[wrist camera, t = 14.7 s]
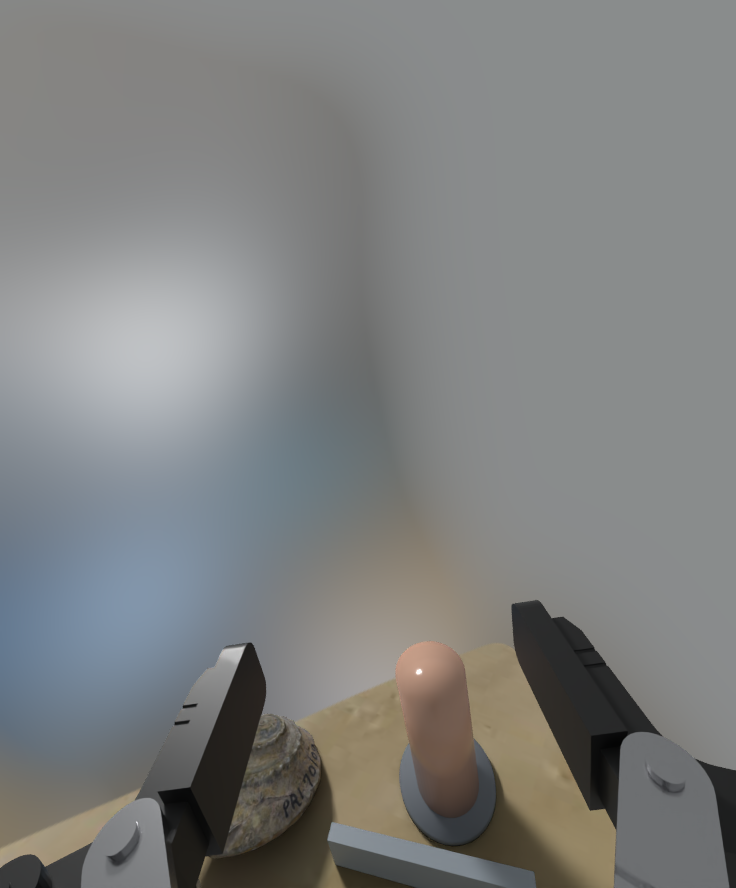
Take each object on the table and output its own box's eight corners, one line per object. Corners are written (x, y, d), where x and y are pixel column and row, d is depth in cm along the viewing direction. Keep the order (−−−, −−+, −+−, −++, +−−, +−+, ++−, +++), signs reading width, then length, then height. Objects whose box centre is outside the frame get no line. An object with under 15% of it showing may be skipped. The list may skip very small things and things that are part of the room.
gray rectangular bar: (335, 864, 26) (327, 840, 25) (339, 846, 27) (331, 821, 26) (539, 922, 22) (537, 895, 21) (535, 898, 23) (534, 871, 22)
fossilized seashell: (340, 805, 28) (289, 755, 26) (228, 948, 24) (159, 901, 23) (306, 713, 38) (267, 672, 36) (222, 805, 34) (174, 764, 32)
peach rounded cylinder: (413, 810, 28) (390, 701, 24) (419, 738, 32) (401, 639, 29) (481, 824, 26) (466, 710, 23) (477, 747, 31) (464, 643, 27)
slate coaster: (392, 832, 27) (391, 827, 27) (407, 723, 34) (406, 719, 34) (501, 858, 25) (500, 853, 25) (491, 736, 32) (491, 731, 32)
